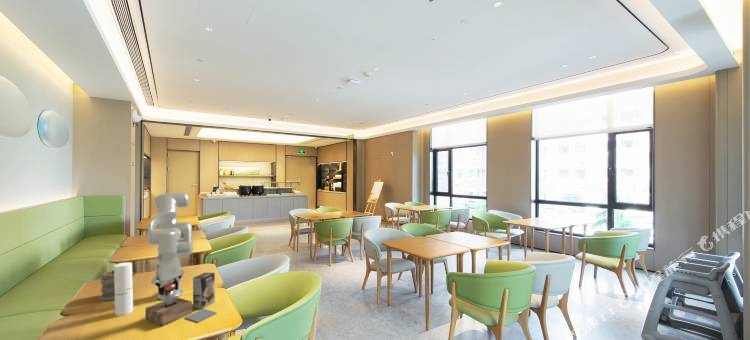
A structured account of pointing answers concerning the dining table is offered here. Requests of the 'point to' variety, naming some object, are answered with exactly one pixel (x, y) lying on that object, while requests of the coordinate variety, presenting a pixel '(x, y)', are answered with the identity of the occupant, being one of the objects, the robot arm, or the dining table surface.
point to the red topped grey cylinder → (168, 294)
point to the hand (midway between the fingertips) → (168, 291)
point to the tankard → (108, 286)
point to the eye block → (168, 311)
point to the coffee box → (203, 290)
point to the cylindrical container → (123, 288)
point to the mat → (200, 315)
